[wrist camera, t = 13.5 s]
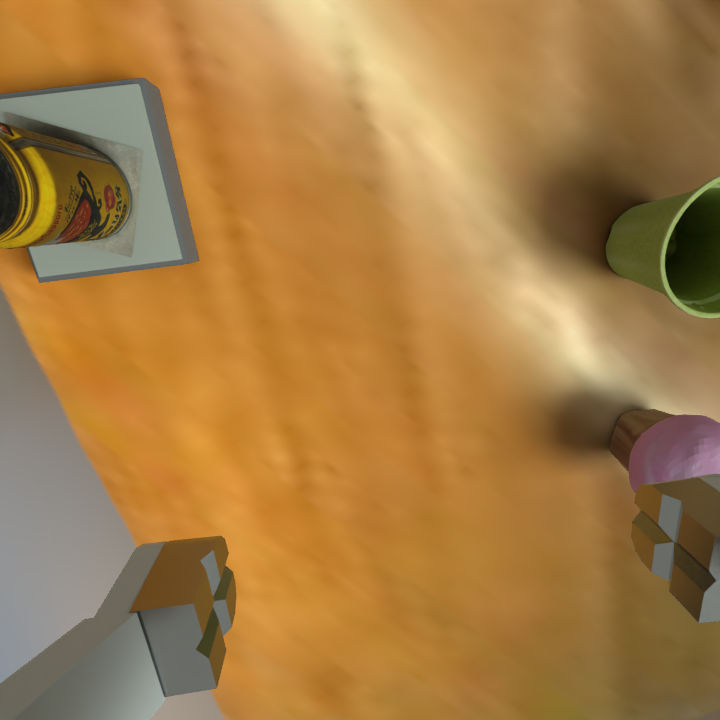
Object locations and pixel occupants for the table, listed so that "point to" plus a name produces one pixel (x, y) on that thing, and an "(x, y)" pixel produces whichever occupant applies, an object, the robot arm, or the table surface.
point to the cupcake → (665, 446)
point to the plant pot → (673, 248)
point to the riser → (158, 174)
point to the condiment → (66, 188)
